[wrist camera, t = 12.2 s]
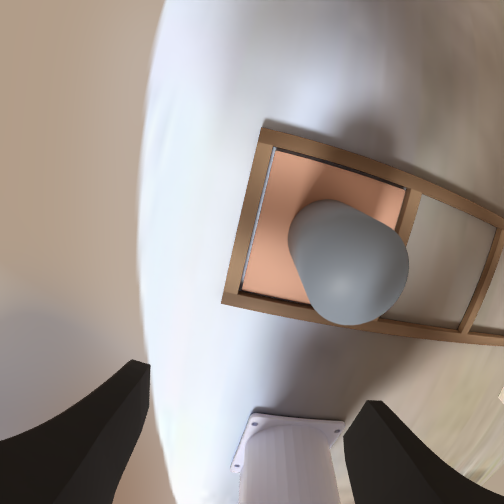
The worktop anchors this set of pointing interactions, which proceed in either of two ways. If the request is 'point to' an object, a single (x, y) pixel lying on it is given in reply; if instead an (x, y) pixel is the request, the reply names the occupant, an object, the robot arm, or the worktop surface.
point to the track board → (353, 194)
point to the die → (501, 396)
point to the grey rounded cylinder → (347, 261)
